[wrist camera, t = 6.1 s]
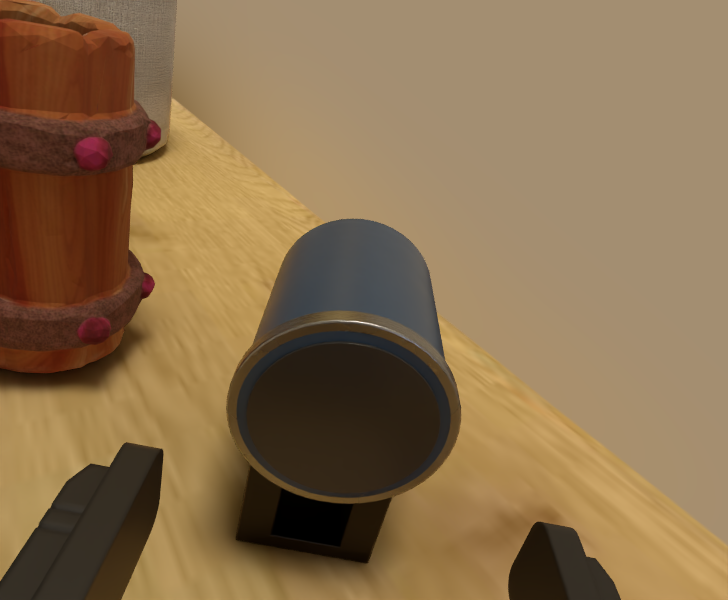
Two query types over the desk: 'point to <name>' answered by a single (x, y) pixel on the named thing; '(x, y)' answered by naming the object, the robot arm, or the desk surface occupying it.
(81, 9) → the planter
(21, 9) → the mug
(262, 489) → the cradle
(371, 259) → the blue metal can
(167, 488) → the desk surface
